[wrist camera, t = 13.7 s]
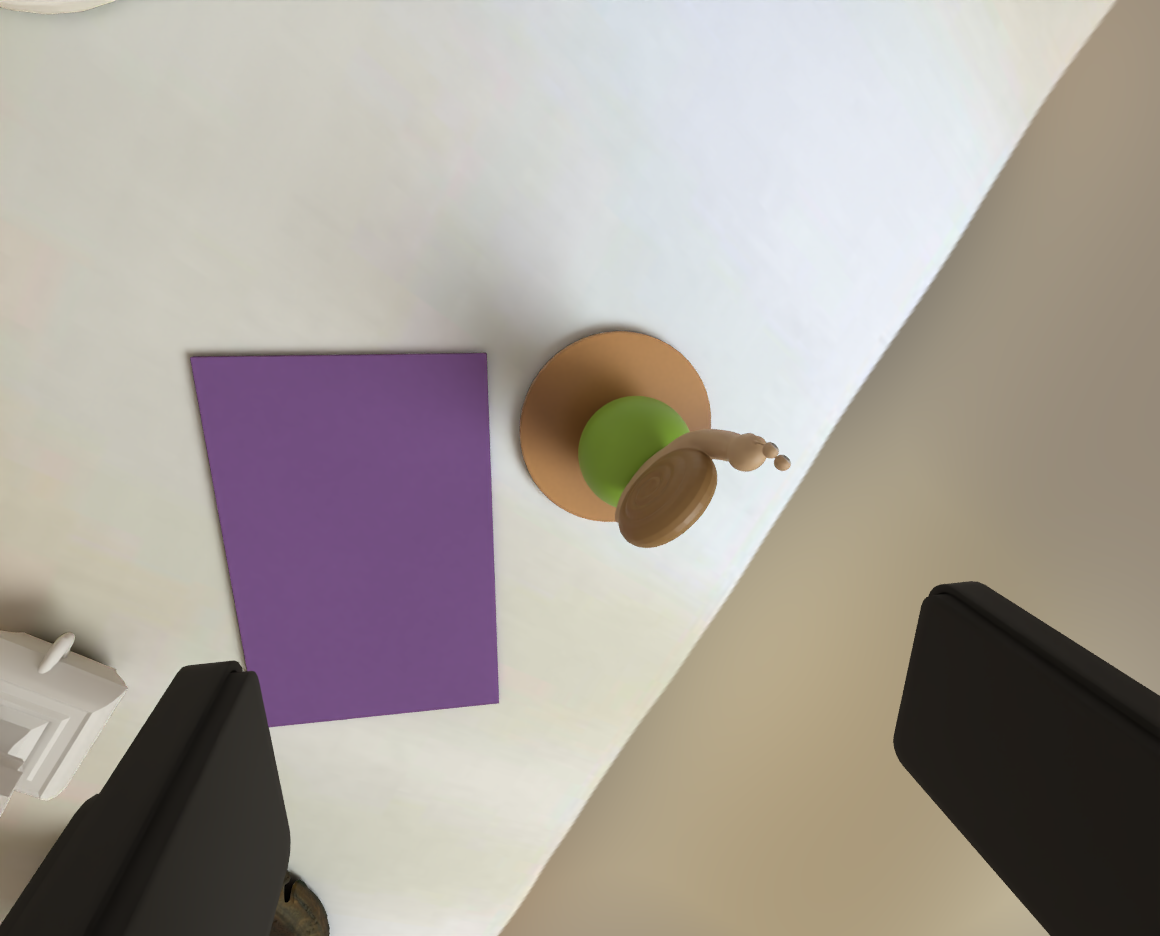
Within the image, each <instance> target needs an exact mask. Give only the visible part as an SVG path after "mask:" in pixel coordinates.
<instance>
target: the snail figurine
mask: <svg viewBox="0 0 1160 936" xmlns="http://www.w3.org/2000/svg"><path fill="white" fill-rule="evenodd" d="M778 452H779V449H778V448H777V446H776V445H775V444H774V443H771V442H768V443H766V441H765V440H764V439H763V438H762V437H759V436H755V435H754V434H751V433H746V434H742V435H740V434H737V433H734V432H731V431H725V430H717V429H704V430H697V431H692V432H690V431H689V429H688V427H687V425H686V423H685V422H684V420H683V419H682V418H681V416H680V415H679V414H678V413H677V412H676V411H675V410H674V409H672V408H671V407H670V406H668V405H667V404H665V403H663V402H661V401H659V400H657V399H654V398H650V397H645V396H627V397H622V398H619V399H616V400H613V401H611V402H609V403H607V404H606V405H604V406H603V407H601V408H600V409H599V410H598V411H597V412H595V414H594V415H593V416H592V417H591V418H590V419H589V421H588V422H587V424H586V426H585V428H584V430H583V432H582V435H581V438H580V442H579V448H578V459H579V466H580V470H581V473H582V475H583V478H584V480H585V482H586V483H587V485H588V486H589V488H590V489H591V490H592V491H593V493H594V494H595V495H596V496H597V497H599V498H600V499H601V500H603V501H604V502H605V503H607V504H609V505H611V506H613V507H616V512H615V520H616V522H618V523H619V528H620V532H621V534H622V535H623V537H624V538H625V539H626V540H627V541H628V542H629V543H631V544H633V545H635V546H637V547H643V548H650V547H657V546H660V545H663V544H666V543H668V542H670V541H672V540H674V539H675V538H677V537H678V536H680V535H681V534H683V533H684V532H685V531H686V530H687V529H689V528H690V527H691V526H692V525H693V524H694V523H695V522H696V521H697V520H698V519H699V517H700V516H701V515H702V514H703V512H704V511H705V509H706V508H707V506H708V505H709V503H710V501H711V499H712V497H713V495H714V492H715V489H716V485H717V471H716V468H715V465H714V463H713V461H712V459H718V460H724V461H729V462H730V464H731V465H732V466H733V467H734V468H735V469H737V470H740V471H752V470H755V469H757V468H758V467H760V466H761V465H762V464H763V463H764V461H765V459H766V457H767V458H775V460H774V465H775V467H776V468H777V469H778V470H781V471H785V470H787V469H788V468H789V467H790V465H791V462H790V460H789V459H788V457H786V456H785V455H779V456H777V455H778Z"/></svg>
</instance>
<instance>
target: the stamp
mask: <svg viewBox="0 0 1160 936" xmlns="http://www.w3.org/2000/svg"><path fill="white" fill-rule="evenodd" d="M74 640H75V636H74V634H73V633H71V632H67V633H64V634H63V635H61V636H60V637H59V638H58V639H57V640H56V641H55V642H54V644H52V643H49V642H47V641H44V640H42V639H39V638H37V637H34V636H32V635H29V634H27V633H24V632H16V633H14V632H7V631H1V630H0V817H1V815H2V813H3V811H4V809H5V807H6V805H7V803H8V801H9V799H10V797H11V795H12V793H13V792H14V791H17V792H20V793H23V794H26V795H29V796H32V797H35V798H39V799H42V800H50V799H52V798H54V797H56V796H58V795H59V794H60V793H61V792H62V791H63V790H64V789H65V788H66V787H67V785H68V784H69V782H70V780H71V779H72V777H73V776H74V774H75V772H76V771H77V769H78V768H79V766H80V764H81V763H82V761H83V760H84V758H85V756H86V755H87V753H88V752H89V750H90V748H91V747H92V745H93V744H94V742H95V740H96V739H97V737H98V736H99V734H100V732H101V731H102V729H103V727H104V726H105V724H106V723H107V721H108V719H109V718H110V716H111V715H112V713H113V711H114V710H115V708H116V707H117V705H118V703H119V702H120V700H121V699H122V697H123V695H124V694H125V692H126V691H127V689H128V687H127V686H126V685H125V682H124V681H123V680H122V679H121V678H120V676H119V675H118V674H117V673H116V669H114V668H112V667H109V666H107V665H104V664H102V663H99V662H97V661H94V660H92V659H89V658H87V657H84V656H82V655H79V654H77V653H74V652H72V651H70V648H71V646H72V645H73V643H74Z"/></svg>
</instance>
